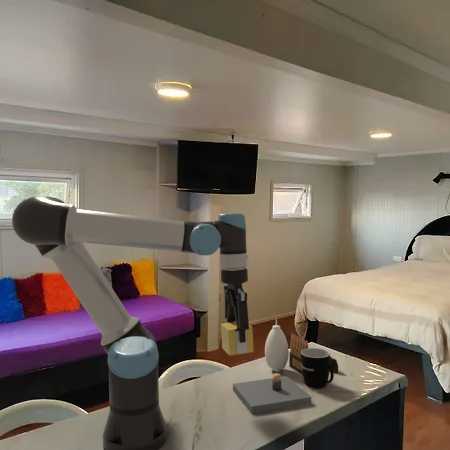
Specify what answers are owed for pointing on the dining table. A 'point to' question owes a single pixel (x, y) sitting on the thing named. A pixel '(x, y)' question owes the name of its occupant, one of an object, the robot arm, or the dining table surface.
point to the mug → (316, 367)
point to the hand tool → (334, 365)
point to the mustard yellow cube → (234, 338)
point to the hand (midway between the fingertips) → (237, 348)
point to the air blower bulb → (276, 349)
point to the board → (271, 394)
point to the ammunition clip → (296, 352)
